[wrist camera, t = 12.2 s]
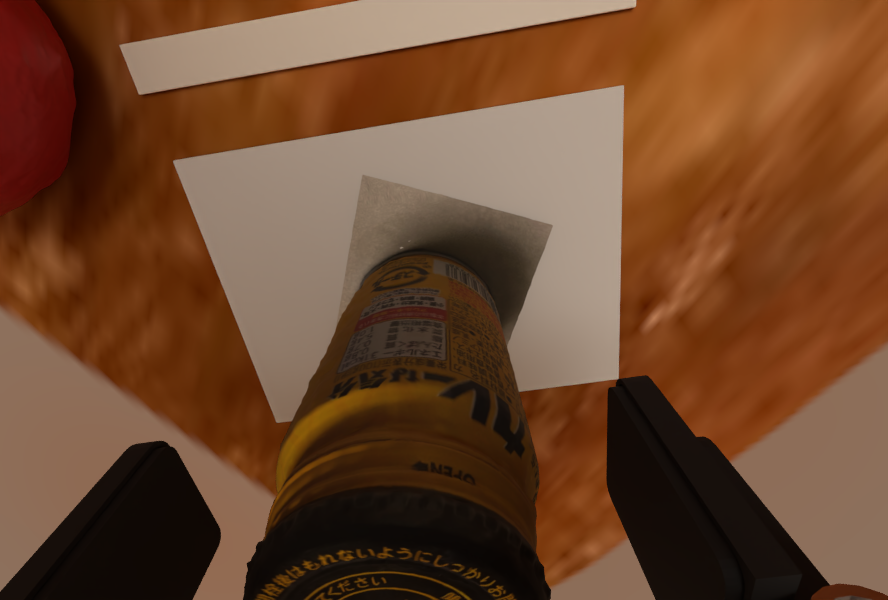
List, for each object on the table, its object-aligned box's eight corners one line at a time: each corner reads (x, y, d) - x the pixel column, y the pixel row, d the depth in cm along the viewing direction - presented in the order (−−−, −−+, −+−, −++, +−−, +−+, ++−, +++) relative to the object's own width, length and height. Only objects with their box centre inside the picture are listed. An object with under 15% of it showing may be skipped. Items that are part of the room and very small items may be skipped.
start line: (123, 46, 14) (118, 44, 14) (635, -49, 13) (637, -51, 13) (142, 94, 15) (139, 94, 15) (633, 7, 14) (636, 6, 14)
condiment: (329, 364, 19) (173, 720, 8) (363, 173, 15) (174, 327, 5) (487, 398, 20) (545, 763, 9) (551, 222, 16) (779, 455, 5)
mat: (181, 158, 16) (172, 160, 15) (617, 86, 15) (624, 85, 14) (281, 414, 21) (276, 422, 20) (613, 371, 20) (618, 379, 19)
